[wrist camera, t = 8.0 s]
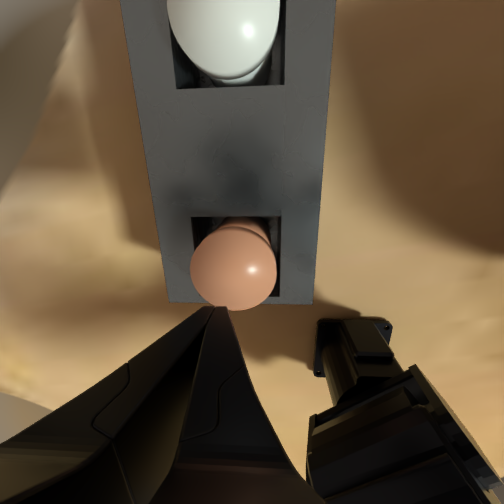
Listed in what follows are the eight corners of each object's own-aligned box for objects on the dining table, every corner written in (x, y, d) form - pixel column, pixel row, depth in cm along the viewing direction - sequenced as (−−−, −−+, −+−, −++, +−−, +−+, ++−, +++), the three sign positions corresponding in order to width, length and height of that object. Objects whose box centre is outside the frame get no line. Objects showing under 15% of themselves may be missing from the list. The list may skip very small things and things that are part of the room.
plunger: (275, 101, 15) (278, 70, 10) (205, 103, 16) (174, 74, 10) (276, 11, 14) (280, -81, 8) (199, 15, 14) (158, -71, 9)
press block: (300, 265, 20) (312, 304, 15) (195, 264, 21) (169, 302, 15) (314, 3, 15) (343, -95, 9) (167, 13, 15) (107, -74, 9)
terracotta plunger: (273, 267, 18) (275, 311, 13) (215, 267, 18) (194, 309, 13) (274, 208, 17) (277, 231, 11) (210, 209, 17) (185, 231, 12)
